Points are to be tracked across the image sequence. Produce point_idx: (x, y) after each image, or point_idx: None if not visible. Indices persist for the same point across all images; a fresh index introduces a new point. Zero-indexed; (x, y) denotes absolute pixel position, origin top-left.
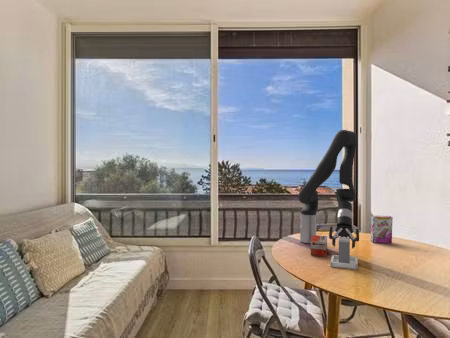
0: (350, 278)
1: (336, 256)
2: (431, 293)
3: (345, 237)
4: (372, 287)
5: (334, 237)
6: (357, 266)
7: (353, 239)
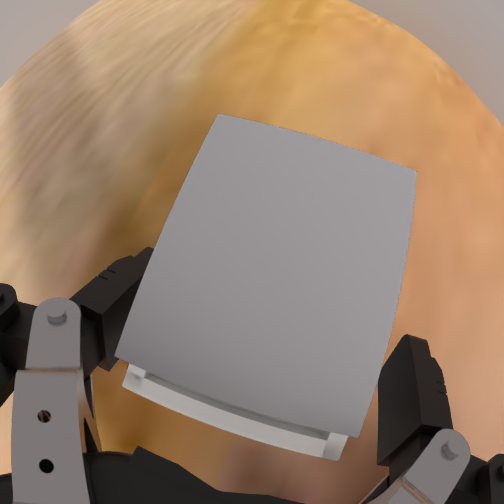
0: (304, 76)
1: (306, 433)
2: (84, 26)
3: (215, 375)
4: (240, 20)
5: (438, 438)
6: None
7: (76, 306)
